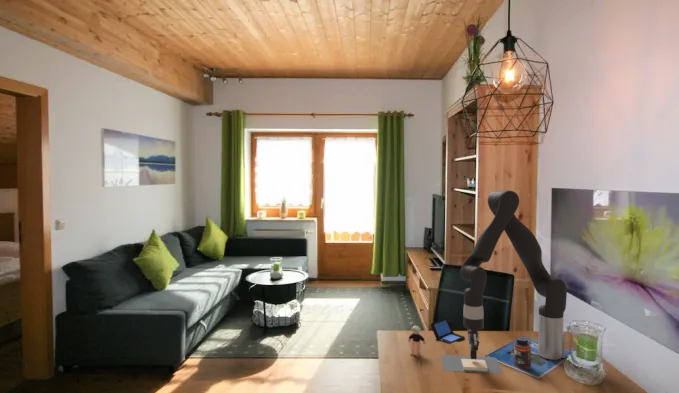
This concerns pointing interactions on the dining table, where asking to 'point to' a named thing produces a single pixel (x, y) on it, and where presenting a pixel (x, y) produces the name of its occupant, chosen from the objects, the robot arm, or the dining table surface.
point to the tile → (474, 365)
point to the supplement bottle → (522, 353)
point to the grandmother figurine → (416, 341)
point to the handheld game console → (445, 332)
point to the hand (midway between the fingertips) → (473, 358)
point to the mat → (455, 361)
